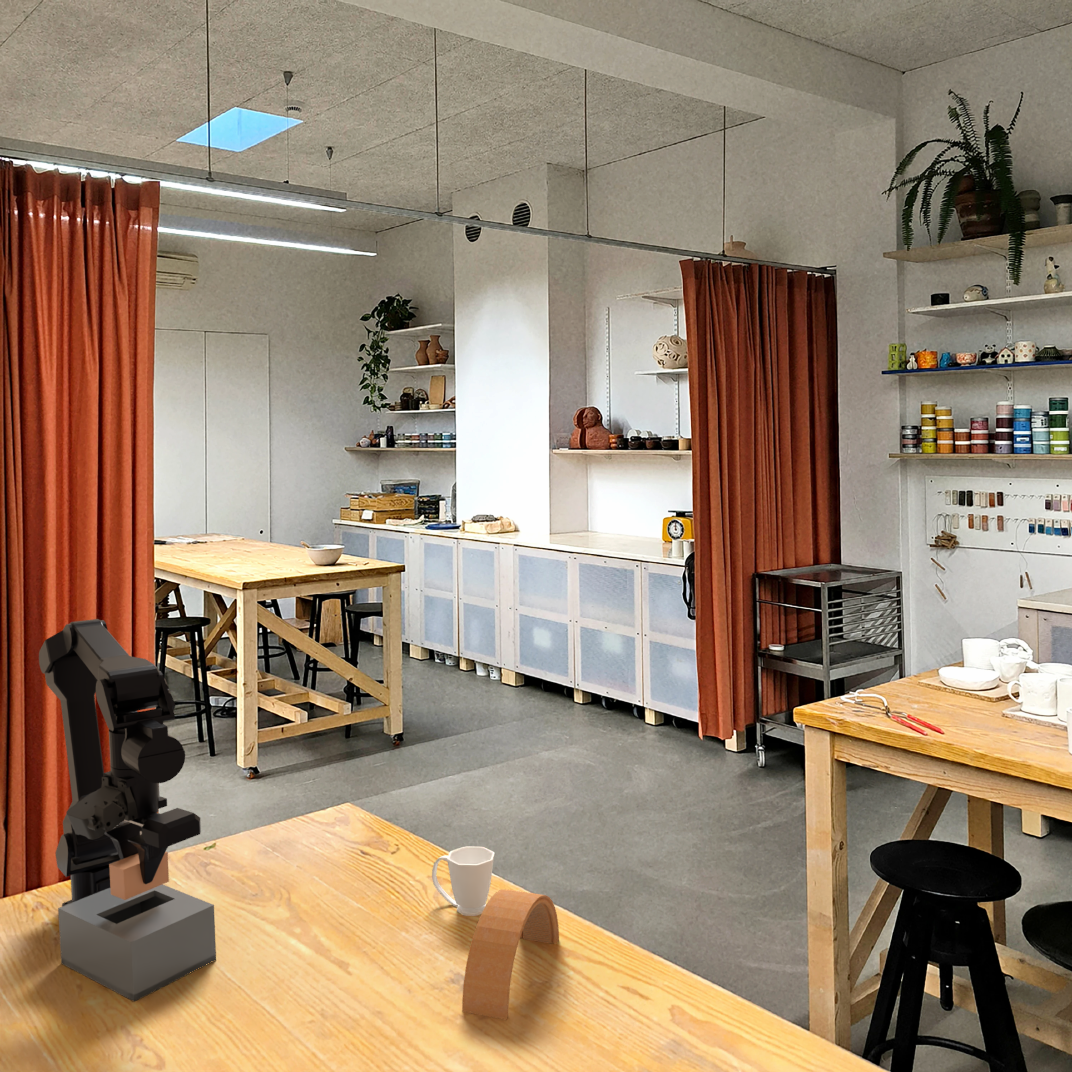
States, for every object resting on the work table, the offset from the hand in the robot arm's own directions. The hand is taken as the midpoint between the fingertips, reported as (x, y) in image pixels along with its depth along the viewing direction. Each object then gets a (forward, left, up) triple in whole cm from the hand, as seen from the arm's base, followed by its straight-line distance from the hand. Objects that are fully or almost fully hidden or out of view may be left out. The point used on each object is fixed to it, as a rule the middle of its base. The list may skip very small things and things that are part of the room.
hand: (139, 879), depth 134 cm
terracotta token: (0, 0, -1) cm, 1 cm away
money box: (0, -1, -11) cm, 11 cm away
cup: (+25, +35, -11) cm, 45 cm away
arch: (+42, +25, -11) cm, 50 cm away
